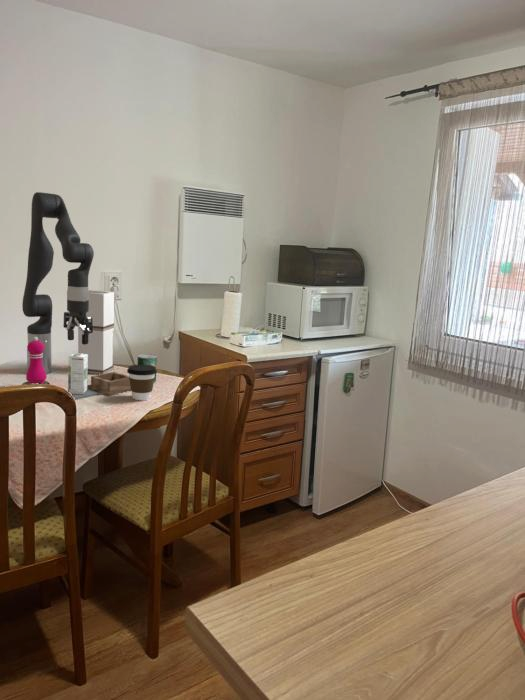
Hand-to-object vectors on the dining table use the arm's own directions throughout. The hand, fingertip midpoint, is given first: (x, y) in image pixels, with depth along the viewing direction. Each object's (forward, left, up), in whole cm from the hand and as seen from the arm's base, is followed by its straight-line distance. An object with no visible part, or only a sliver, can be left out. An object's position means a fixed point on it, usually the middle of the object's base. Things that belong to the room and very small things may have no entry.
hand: (77, 342), depth 197 cm
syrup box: (0, 0, -20) cm, 20 cm away
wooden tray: (+3, +14, -20) cm, 24 cm away
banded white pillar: (-24, +26, -20) cm, 41 cm away
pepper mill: (-17, -6, -20) cm, 27 cm away
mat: (0, 0, -20) cm, 20 cm away
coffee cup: (+20, +14, -20) cm, 31 cm away
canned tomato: (+3, +31, -20) cm, 38 cm away
